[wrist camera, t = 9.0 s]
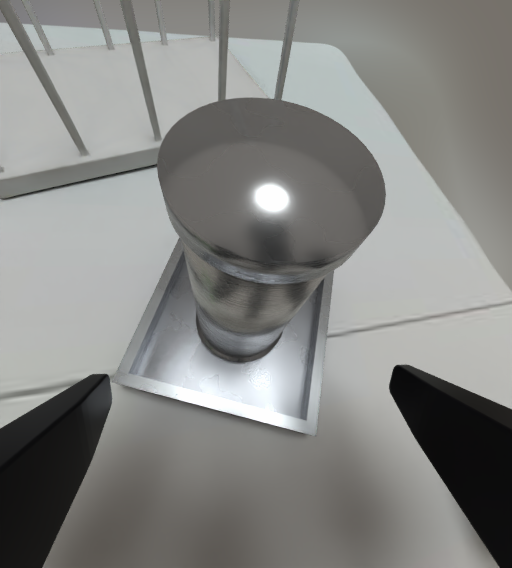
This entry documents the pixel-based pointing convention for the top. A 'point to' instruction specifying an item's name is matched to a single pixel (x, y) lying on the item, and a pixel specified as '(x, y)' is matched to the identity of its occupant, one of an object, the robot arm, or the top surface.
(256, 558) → the top surface
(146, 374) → the flange tray
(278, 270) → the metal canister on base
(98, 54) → the file sorter
